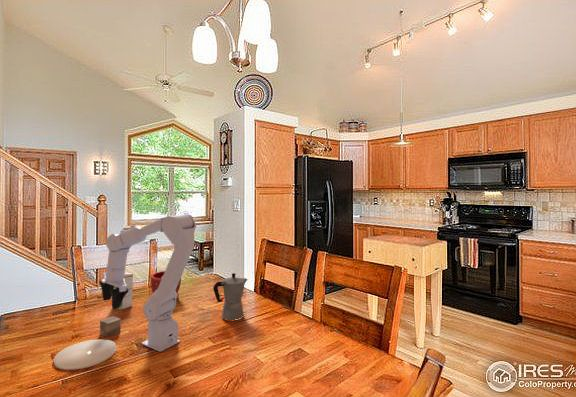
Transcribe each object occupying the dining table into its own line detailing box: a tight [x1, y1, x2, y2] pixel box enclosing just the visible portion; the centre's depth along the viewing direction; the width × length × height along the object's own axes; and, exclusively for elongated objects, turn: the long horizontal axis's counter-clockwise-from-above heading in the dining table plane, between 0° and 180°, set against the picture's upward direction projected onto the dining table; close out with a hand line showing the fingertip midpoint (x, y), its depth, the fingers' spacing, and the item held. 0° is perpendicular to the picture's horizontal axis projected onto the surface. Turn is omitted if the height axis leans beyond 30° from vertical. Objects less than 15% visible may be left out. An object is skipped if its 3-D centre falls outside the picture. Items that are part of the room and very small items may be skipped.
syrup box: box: [113, 271, 134, 311], centre depth 134 cm, size 6×6×14 cm
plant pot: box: [150, 270, 182, 300], centre depth 144 cm, size 13×13×12 cm
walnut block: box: [99, 315, 122, 339], centre depth 110 cm, size 5×5×5 cm
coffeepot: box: [212, 272, 249, 320], centre depth 126 cm, size 15×9×18 cm, turn 129°
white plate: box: [53, 338, 117, 371], centre depth 95 cm, size 16×16×1 cm
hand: (111, 303), depth 110 cm, fingers open, 7 cm apart
